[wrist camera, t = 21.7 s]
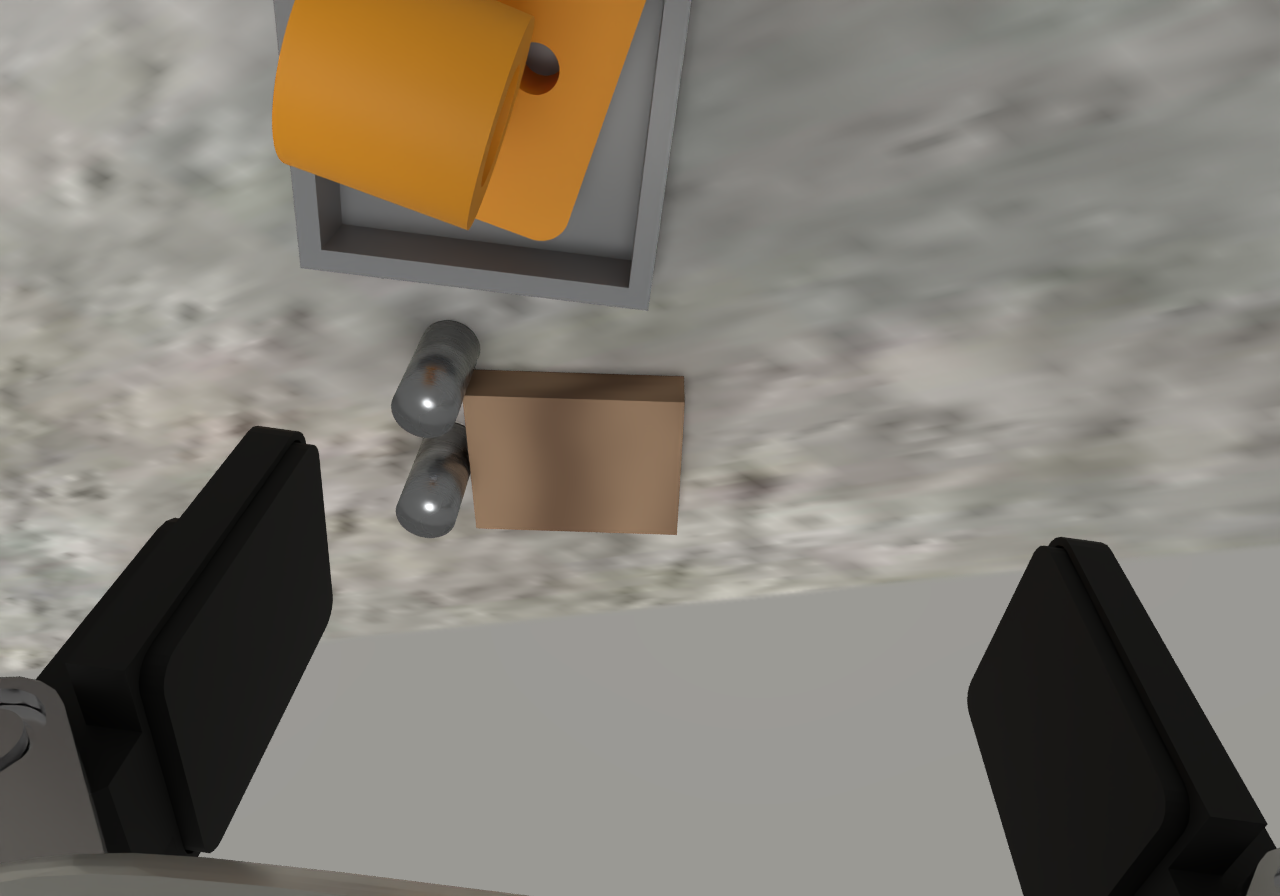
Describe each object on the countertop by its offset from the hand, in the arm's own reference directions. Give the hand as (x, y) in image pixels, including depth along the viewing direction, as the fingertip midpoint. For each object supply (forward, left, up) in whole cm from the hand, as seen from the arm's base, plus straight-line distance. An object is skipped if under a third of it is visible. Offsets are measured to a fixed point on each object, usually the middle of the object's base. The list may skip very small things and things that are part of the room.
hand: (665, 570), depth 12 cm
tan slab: (+2, +15, -25) cm, 29 cm away
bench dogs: (+8, +13, -24) cm, 29 cm away
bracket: (+5, -2, -24) cm, 24 cm away
